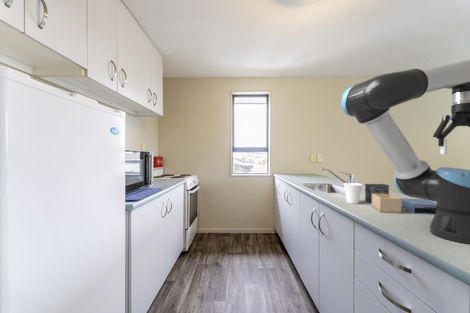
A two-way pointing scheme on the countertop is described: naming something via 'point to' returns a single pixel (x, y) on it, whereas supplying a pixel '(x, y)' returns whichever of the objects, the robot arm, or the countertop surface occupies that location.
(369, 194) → the small box
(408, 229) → the countertop surface
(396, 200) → the tray
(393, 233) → the countertop surface
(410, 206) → the lid
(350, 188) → the cup
